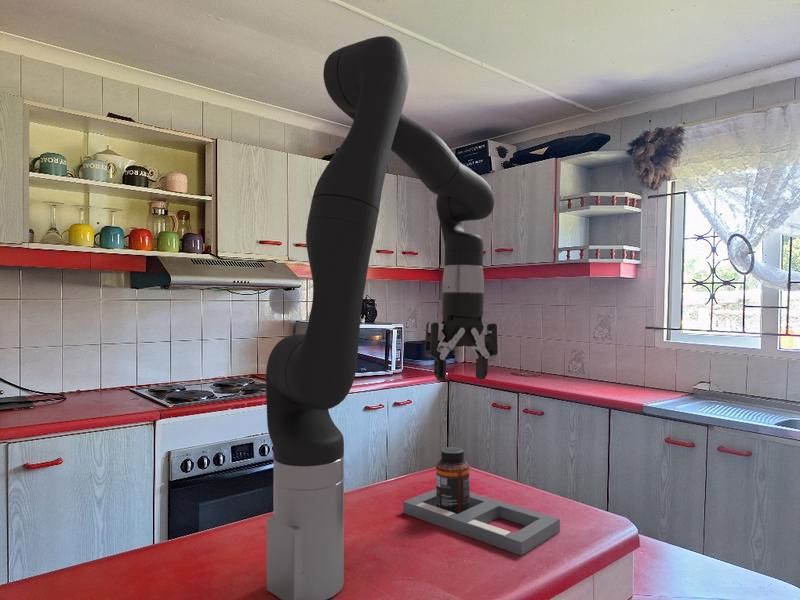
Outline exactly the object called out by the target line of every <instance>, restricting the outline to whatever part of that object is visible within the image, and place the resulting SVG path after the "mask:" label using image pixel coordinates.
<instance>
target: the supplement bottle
mask: <svg viewBox="0 0 800 600" xmlns="http://www.w3.org/2000/svg"><path fill="white" fill-rule="evenodd" d="M440 453H441V454H440V456H441V459H440V460H438V461H437V462H436V465H435V472H436V473H435V479H436V480H435V482H436V483H435V489H436V507H438V508H441V509H444V510H447V511H450V512H453V513H455V514H459V513H461V512H463V511H465V510H467V509H469V508H470V493H471V492H470V491H471V490H470V489H471V488H470V464H469V463H468V461H466V460H465V459H464V457H465V455H464V454H465V453H464V449H463V448H461V447H455V446H453V447H452V446H448V447H443V448H442V449H441V450H440Z"/></svg>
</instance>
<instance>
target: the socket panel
mask: <svg viewBox="0 0 800 600" xmlns="http://www.w3.org/2000/svg"><path fill="white" fill-rule="evenodd" d="M402 505H403V506H402V512H403V514H406V515H408V516H411V517H413V518H417V519H418V520H419V519H420V520H422V521H424V522H427V523H431V524H434V525H436V526H439V527H441V528H445V529H447V530H448V531H452V532H455V533H457V534H461V535H462V536H467V537H469V538H471V539H475V540H477V541H480V542H481V543H485V544H488V545H490V546H494V547H497V548H500V549H502V550H504V549H505V551H508V552H510V553H513V554H516V555H519V556H521V555H522V556H524V555H525V554H527V553H528V552H530V551H531V550H533V549H534V548H536V547H538V546H539V545H541V544H542V543H544V542H545V541H547V540H548V539H550V538H551V537H553V536H555V535H556V534H558V533H559V532H561V519H560V518H558V517H555V516H552V515H548V514H546V513H545V514H544V513H541V512H537V511H535V510H531V509H527V508H524V507H522V506H521V507H520V506H517V505H515V504H511V503H507V502H504V501H500V500H497V499H493V498H492V497H491V498H489V497H487V496H484V495H480V494H476V493H473V492H470V508H469V509H467V510H465V511H463V512H461V513H459V514H455V513H453V512H450V511H447V510H444V509H441V508H438V507H436V488H435V489H431V490H429V491H427V492H424V493H421V494H419V495H417V496H415V497H411V498H409V499H406V500H404V501H402ZM497 519H503V520H507V521H509V522H512V523H515V524H519V525H523V526H524V527H523V528H521V529H519V530H518V531H516V532H512V531H510V530H506V529H503V528H500V527H498V526H494V525H492V524H489V523H491V522H493V521H494V520H497ZM523 554H524V555H523Z"/></svg>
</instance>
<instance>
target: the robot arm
mask: <svg viewBox="0 0 800 600" xmlns="http://www.w3.org/2000/svg"><path fill="white" fill-rule="evenodd" d="M322 77H323V82H324V87H325V89H326V92H327V94H328V96H329V97H330V98H331V100H332V102H333V103H334V104H335V105H336V106H337V107H338V109H340V110H341V111H342V112H343V113H344V114H345V115H347V116H348V117H349V118H350V119H352V120H353V122H352V124H351V126H350V129H349V131H348V133H347V135H346V137H345V138H344V140H343V141H342V143H341V144H340V146H339V148H338V149H337V151H335V154H334V155H333V156H332V157H331V159H330V160H329V162H328V164H327V165H326V167H325V168H324V169H323V172H321V175H320V176H319V178H318V180H317V182H316V185H315V187H314V189H313V190H314V191H313V195H312V198H311V203H310V209H309V212H308V217H307V224H306V231H305V241H306V242H305V243H306V244H305V245H306V251H307V258H308V263H309V268H310V273H311V278H312V279H311V280H312V300H311V302H312V303H311V307H310V308H311V309H310V313H309V316H308V322H307V323H308V324H307V327H306V331H305V334H304V333H303V334H300V333H299V334H298V333H297V334H292V335H288V336H285V337H284V338H282V339H280V340H279V341H278V342H277V343H276V344H275V346H274V347H273V348H272V350H271V351H270V353H269V357H268V359H267V365H266V368H265V370H266V371H265V400H266V402H265V403H266V424H267V431H268V435H269V438H270V441H271V444H272V449H273V453H272V455H273V481H272V482H273V483H272V484H273V490H272V491H273V497H272V498H273V500H272V501H273V507H272V508H273V513H272V514H273V515H272V516H269V517H267V519H266V590H267V592H268V593H271V594H273V595H274V596H276V597H277V598H279V599H280V600H329V599H331V598H333V597H335V596H336V595H337V594H339V593H340V592H341V590H342V589H343V587H344V582H345V581H344V580H345V579H344V576H345V575H344V574H345V573H344V570H345V568H344V565H345V563H344V562H345V559H344V558H345V554H344V553H345V551H344V550H345V549H344V548H345V547H344V546H345V545H344V544H345V540H344V539H345V533H344V532H345V530H344V529H345V521H344V520H345V503H344V502H345V441H344V440H345V439H344V436H343V435H344V434H343V433H342V432H341V430H340V429H339V428H338V426H337V425H336V424H335V423H334V421H333V419H332V417H331V415H330V412H329V410H330V409H333V408H335V407H336V406H339V405H340V404H341V403H342V402H343V401H344V400H346V398H347V396H348V395H349V393H350V392H351V389H352V387H353V384H354V381H355V377H356V371H357V367H358V355H359V354H358V353H359V342H360V329H361V328H360V327H361V318H362V309H363V308H362V307H363V300H364V294H365V290H366V289H365V288H366V282H367V277H368V271H369V265H370V259H371V258H370V257H371V254H372V249H373V248H372V247H373V244H374V240H375V234H376V230H377V229H376V228H377V223H378V219H379V213H380V206H381V200H382V193H383V186H384V182H385V177H386V172H387V168H388V163H389V159H390V155H391V152H393V153H394V154H395V155H396V156H397V157H399V159H401V160H402V161H403V162H404V164H405V165H407V166H408V167H409V168H410V169H411V171H412V172H413V173H414V175H416V176H417V178H418V179H419V180H420V181H421V182H422V184H423V185H424V186H425V188H427V189H428V190H429V191H430V192H431V193H432V194H435V195H437V197H436V203H435V207H436V211H437V217H438V221H439V223H440V225H439V226H440V228H441V233H442V234H441V235H442V238H443V243H444V269H443V275H442V287H441V288H442V292H441V293H442V295H441V296H442V299H441V301H442V302H441V305H442V307H441V314H442V322H441V323H438V322H432V321H427V323H426V327H425V337H424V338H425V339H424V340H425V341H424V354H425V356H429V357H430V358H432V359H433V361H434V362H433V363H434V365H433V367H434V368H433V375H434V377H435V378H436V380H437V381H440V382H445V381H446V379H447V374H446V373H447V360H446V358H447V356H448V354H449V353H450V352H451V351H453V350H454V348H455V347H459V348H460V347H469V348H470V349H472V350H473V352H474V353H475V355H476V356H477V358H476V359H475V378H476V379H478V380H486V377H487V375H488V364H489V363H488V362H489V361H488V360H489V358H491V357H493V356H497V355H498V354H499V353H498V325H497V323H492V322H485V323H483V321H482V318H483V316H484V301H485V300H484V298H485V297H484V296H485V295H484V293H485V287H484V286H485V276H484V240H483V238H482V237H481V236H480V235H479V234H476V233H473V232H472V233H471V232H466V231H465V229H464V228H463V225H462V222H468V221H479V220H484V219H486V218H488V217H489V216H490V215H491V213H493V210H494V208H495V202H496V201H495V194H494V192H493V189H492V187H491V186H490V184H489V183H488V181H486V180H485V179H484V178H483V177H482V176H480V175H479V174H477V173H476V172H475V171H473V170H472V169H471V168H470V167H468V166H466V165H464V164H463V163H462V162H460V160H458V158H457V157H456V155H455V154H454V153H453V151H452V150H451V148H450V147H449V146H448V144H446V143H445V141H444V140H443V139H442V138H441V137H440V136H438V134H436V133H435V132H434V131H432V130H430V129H428V127H425V126H424V125H421V124H420V123H418V122H416V121H415V120H413V119H411V118H409V117H407V116H405V115H404V114H403V108H404V105H405V101H406V98H407V93H408V89H409V83H410V82H409V80H410V67H409V61H408V57H407V54H406V51H405V49H404V47H403V45H402V44H401V43H400V42H399V41H398V40H397V39H396V38H395V37H391V36H387V35H382V36H376V37H370V38H367V39H364V40H361V41H357V42H354V43H352V44H351V43H350V44H348V45H346V46H342V47H340V48H339V49H336V50H335V51H332V52H331V53H330V54H329V55H328V57H327V58H326V59H325V62H324V64H323V76H322ZM441 332H442V334H443V336H442V338H441V340H440V341H439V335H440V334H441ZM482 333H483V335H484V340H483V339H482V337H481V334H482ZM438 342H439V343H438Z"/></svg>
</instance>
